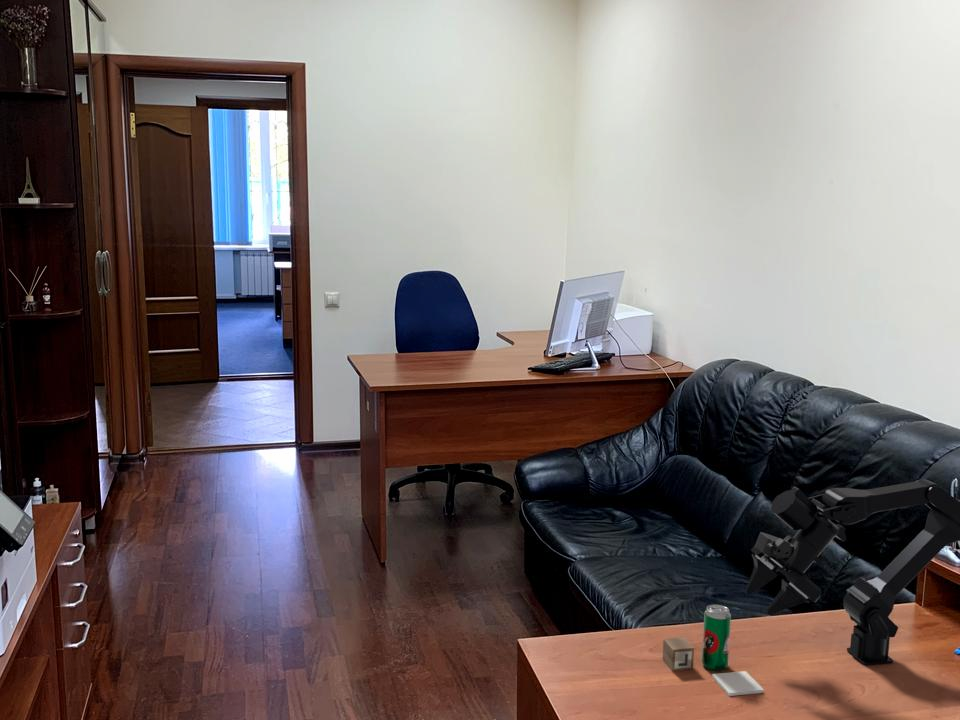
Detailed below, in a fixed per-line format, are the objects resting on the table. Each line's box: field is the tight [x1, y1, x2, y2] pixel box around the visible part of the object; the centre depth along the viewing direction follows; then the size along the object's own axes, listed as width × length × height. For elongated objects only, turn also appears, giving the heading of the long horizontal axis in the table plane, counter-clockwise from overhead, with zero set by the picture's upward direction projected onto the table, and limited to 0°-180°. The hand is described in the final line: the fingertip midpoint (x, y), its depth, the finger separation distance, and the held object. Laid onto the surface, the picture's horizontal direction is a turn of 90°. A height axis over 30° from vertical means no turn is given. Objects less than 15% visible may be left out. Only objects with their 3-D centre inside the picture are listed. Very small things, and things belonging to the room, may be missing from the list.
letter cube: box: [662, 636, 695, 672], centre depth 175 cm, size 4×5×4 cm
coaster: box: [711, 670, 765, 697], centre depth 167 cm, size 7×7×1 cm
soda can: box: [701, 604, 732, 672], centre depth 174 cm, size 5×5×12 cm
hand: (757, 603), depth 173 cm, fingers open, 9 cm apart
